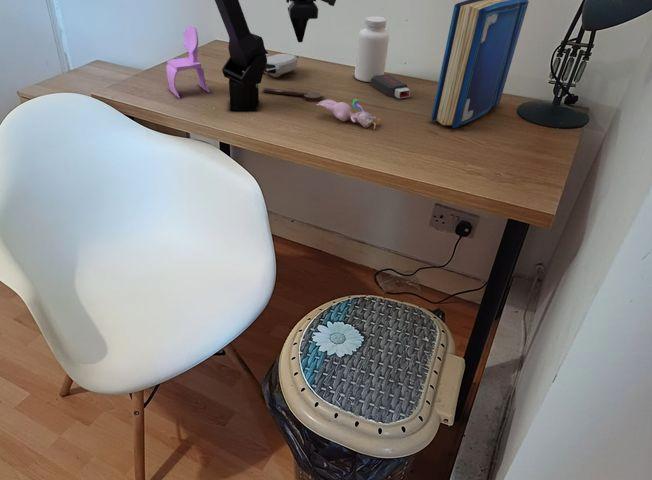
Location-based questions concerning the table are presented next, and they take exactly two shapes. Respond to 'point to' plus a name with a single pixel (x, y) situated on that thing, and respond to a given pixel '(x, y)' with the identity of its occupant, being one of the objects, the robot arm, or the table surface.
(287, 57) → the robot toy
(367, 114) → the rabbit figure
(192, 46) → the toy chair
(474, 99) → the book
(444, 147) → the table surface
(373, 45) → the pill bottle
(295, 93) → the spoon
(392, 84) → the usb drive
